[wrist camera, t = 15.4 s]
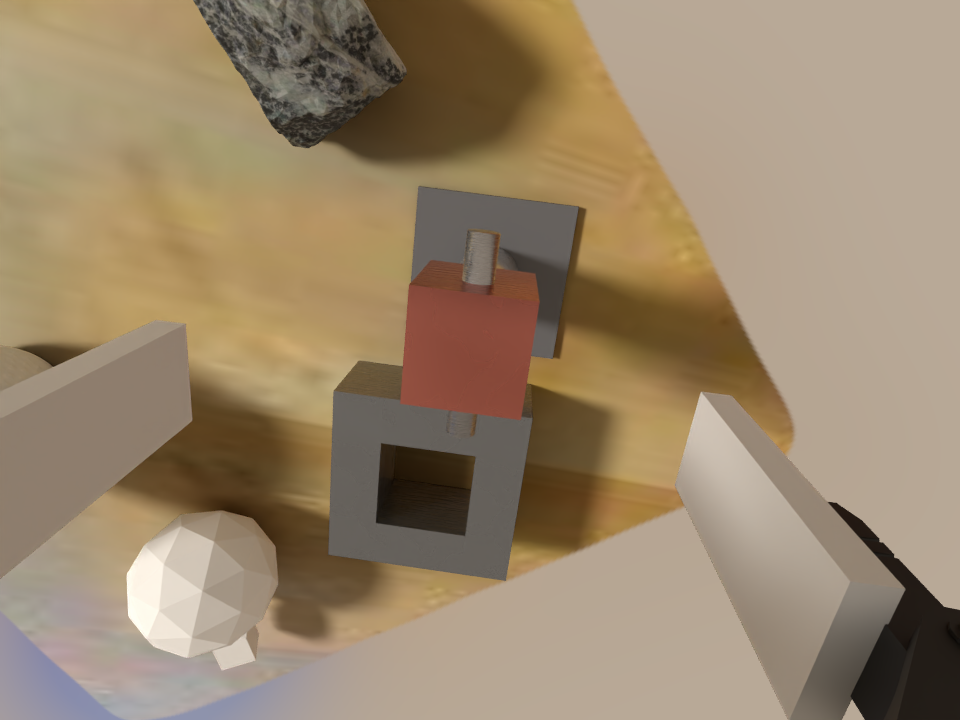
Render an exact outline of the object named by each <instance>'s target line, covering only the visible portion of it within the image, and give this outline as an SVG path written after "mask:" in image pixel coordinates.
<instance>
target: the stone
mask: <svg viewBox="0 0 960 720" xmlns="http://www.w3.org/2000/svg"><path fill="white" fill-rule="evenodd" d="M193 1H194V2H195V4H196V5H197V7H198V8H199V10H200V12H201V14H202V16H203V18H204V19H205V21H206V23H207V24H208V26H209V28H210V29H211V31H212V33H213V35H214V36H215V38H216V39H217V40H218V42H219V43H220V44H221V46H222V47H223V48H224V50H225V51H226V53H227V54H228V56H229V58H230V59H231V61H232V63H233V64H234V66H235V68H236V70H237V71H238V72H239V73H240V74H241V75H242V76H243V78H244V79H245V81H246V82H247V84H248V86H249V88H250V90H251V91H252V93H253V95H254V96H255V98H256V99H257V100H258V101H259V103H260V105H261V107H262V109H263V112H264V114H265V115H266V117H267V119H268V120H269V122H270V123H271V125H272V126H273V127H274V128H275V129H276V130H277V132H278V133H279V134H283V135H284V137H285V138H286V139H287V140H288V141H289V142H290V143H291V144H292V145H293V146H297V147H303V148H309V147H311V146H315V145H316V144H318V143H319V142H321V141H322V140H323V139H324V138H325V137H326V136H327V135H328V134H330V133H332V132H334V131H336V130H338V129H339V128H341V126H342V125H344V124H345V123H346V122H347V121H348V120H349V119H351V118H353V117H355V116H356V115H357V114H359V113H360V112H361V111H362V109H363V108H364V107H365V106H367V105H368V104H369V103H370V102H371V101H373V100H374V99H375V98H380V97H381V95H382V94H383V93H384V92H386V91H387V90H389V89H390V88H392V87H395V86H397V85H398V84H399V83H400V82H401V81H402V80H403V78H404V76H405V75H406V73H407V70H406V67H405V66H404V64H403V62H402V60H401V59H400V58H399V56H398V55H397V54H396V52H395V50H394V49H393V47H392V46H391V45H390V44H389V42H388V41H387V40H386V38H385V37H384V35H383V34H382V32H381V30H380V29H379V28H378V26H377V24H376V22H375V20H374V18H373V16H372V14H371V13H370V11H369V9H368V7H367V5H366V3H365V2H364V0H193Z"/></svg>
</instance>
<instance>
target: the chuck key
mask: <svg viewBox="0 0 960 720" xmlns="http://www.w3.org/2000/svg"><path fill="white" fill-rule="evenodd" d="M500 236H501V233H499V232H495V231H490V230H483V229H467V238H466V247H465V256H464V257H463V258H462V260H461V261H460V263H452V262H444V261H436V260H430V262H429V263H428V264H427V265H426V266H425V267H424V268H423V270H422V271H421V272H420V273H419V274H418V275H417V276H416V278H415V279H414V280H413V281H412V282H411V283H410V284H409V293H408V306H407V319H406V333H405V346H404V359H403V373H402V386H401V399H400V404H405V405H413V406H420V407H427V408H435V409H442V410H448V414H447V423H446V432H447V433H448V434H449V435H451V436H453V437H457V438H469V437H472V436H474V435H475V430H476V423H477V415H478V414H479V415H486V416H494V417H501V418H509V419H516V420H521V416H522V410H523V403H524V397H525V391H526V385H527V378H528V372H529V366H530V359H531V353H532V347H533V340H534V334H535V328H536V322H537V315H538V309H539V303H540V301H539V294H538V288H537V281H536V275H535V273H529V272H521V271H518V268H517V265H516V263H515V261H514V259H513V258H512V256H511V255H510V254H509V253H508V252H506V251H505V250H503V249H502V248H500V247H499V244H500Z"/></svg>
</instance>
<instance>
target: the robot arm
mask: <svg viewBox="0 0 960 720" xmlns="http://www.w3.org/2000/svg"><path fill="white" fill-rule="evenodd" d="M190 422H192V407H191V393H190V379H189V365H188V350H187V336H186V324H183V323H175V322H167V321H160V320H155V321H153V322H151V323H148V324H146V325H144V326H142V327H140V328H137V329H135V330H133V331H131V332H129V333H127V334H124V335H122V336H120V337H118V338H116V339H113V340H111V341H109V342H107V343H105V344H103V345H100V346H98V347H96V348H94V349H92V350H90V351H87V352H85V353H83V354H81V355H79V356H76V357H74V358H72V359H70V360H68V361H66V362H63V363H61V364H59V365H57V366H55V367H52V368H50V369H48V370H46V371H44V372H42V373H39V374H37V375H35V376H33V377H31V378H29V379H26V380H24V381H22V382H20V383H18V384H15V385H13V386H11V387H9V388H7V389H5V390H2V391H0V579H1V578H2V577H3V576H4V575H6V574H7V573H8V572H9V571H10V570H12V569H13V568H14V567H15V566H17V565H18V564H19V563H20V562H21V561H23V560H24V559H25V558H26V557H28V556H29V555H30V554H31V553H32V552H34V551H35V550H36V549H37V548H38V547H40V546H41V545H42V544H43V543H45V542H46V541H47V540H48V539H49V538H51V537H52V536H53V535H54V534H55V533H57V532H58V531H59V530H60V529H62V528H63V527H64V526H65V525H66V524H68V523H69V522H70V521H71V520H72V519H74V518H75V517H76V516H77V515H79V514H80V513H81V512H82V511H83V510H85V509H86V508H87V507H88V506H89V505H91V504H92V503H93V502H94V501H96V500H97V499H98V498H99V497H100V496H102V495H103V494H104V493H105V492H106V491H108V490H109V489H110V488H111V487H113V486H114V485H115V484H116V483H117V482H119V481H120V480H121V479H122V478H123V477H125V476H126V475H127V474H128V473H130V472H131V471H132V470H133V469H134V468H136V467H137V466H138V465H139V464H140V463H142V462H143V461H144V460H145V459H147V458H148V457H149V456H150V455H151V454H153V453H154V452H155V451H156V450H157V449H159V448H160V447H161V446H162V445H164V444H165V443H166V442H167V441H168V440H170V439H171V438H172V437H173V436H175V435H176V434H177V433H178V432H179V431H181V430H182V429H183V428H184V427H185V426H187V425H188V424H189V423H190ZM675 487H676V489H677V491H678V493H679V495H680V497H681V499H682V501H683V503H684V505H685V508H686V510H687V512H688V514H689V516H690V518H691V520H692V522H693V524H694V526H695V528H696V530H697V532H698V534H699V536H700V538H701V541H702V542H703V545H704V547H705V549H706V551H707V553H708V555H709V557H710V559H711V561H712V563H713V565H714V567H715V569H716V572H717V574H718V575H719V578H720V580H721V582H722V584H723V586H724V588H725V590H726V592H727V594H728V596H729V599H730V601H731V603H732V605H733V607H734V609H735V611H736V613H737V615H738V617H739V619H740V621H741V623H742V625H743V628H744V629H745V632H746V634H747V636H748V638H749V640H750V642H751V644H752V646H753V648H754V650H755V652H756V654H757V656H758V659H759V661H760V663H761V665H762V666H763V669H764V671H765V673H766V675H767V677H768V679H769V681H770V683H771V685H772V688H773V689H774V692H775V694H776V696H777V698H778V700H779V702H780V704H781V706H782V708H783V710H784V712H785V714H786V716H787V719H788V720H842V718H843V716H844V714H845V712H846V710H847V708H848V706H849V704H850V702H851V700H853V701H854V703H855V704H856V706H857V708H858V709H859V711H860V713H861V714H862V716H863V717H864V719H865V720H960V610H957V609H952V608H947V607H944V606H943V605H942V604H941V603H940V602H939V601H938V600H937V599H936V598H935V597H934V596H933V595H932V594H931V593H930V592H929V591H928V590H927V588H925V586H924V585H923V584H922V583H921V582H920V581H919V580H918V579H917V578H916V577H915V576H914V575H913V574H912V573H911V572H910V571H909V570H908V569H907V567H906V566H905V565H904V564H903V563H902V562H901V561H900V560H899V559H897V558H894V554H893V553H892V552H891V551H890V550H889V548H888V547H887V546H886V545H885V544H884V543H881V542H879V538H878V537H877V536H876V535H875V534H874V533H873V532H872V531H871V529H870V528H869V527H868V526H867V525H866V524H865V523H864V522H863V521H862V520H860V519H859V518H858V517H856V516H855V515H853V514H852V513H850V512H849V511H847V510H846V509H844V508H843V507H841V506H840V505H838V504H837V503H833V502H827V501H826V500H825V499H824V498H823V497H822V496H821V495H820V493H819V492H818V491H817V490H816V489H815V488H814V487H813V486H812V484H811V483H810V482H809V481H808V480H807V479H806V478H805V477H804V476H803V474H802V473H801V472H800V471H799V470H798V469H797V468H796V467H795V466H794V464H793V463H792V462H791V461H790V460H789V459H788V458H787V457H786V456H785V454H784V453H783V452H782V451H781V450H780V449H779V448H778V447H777V446H776V444H775V443H774V442H773V441H772V440H771V439H770V438H769V437H768V436H767V434H766V433H765V432H764V431H763V430H762V429H761V428H760V427H759V426H758V424H757V423H756V422H755V421H754V420H753V419H752V418H751V417H750V416H749V414H748V413H747V412H746V411H745V410H744V409H743V408H742V407H741V406H740V404H739V403H738V402H737V401H736V400H735V399H734V398H733V397H732V396H731V395H723V394H715V393H708V392H701V394H700V397H699V401H698V404H697V408H696V411H695V415H694V418H693V422H692V426H691V429H690V433H689V436H688V440H687V443H686V447H685V451H684V454H683V458H682V461H681V465H680V468H679V472H678V476H677V479H676V483H675Z"/></svg>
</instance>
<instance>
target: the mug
mask: <svg viewBox="0 0 960 720" xmlns="http://www.w3.org/2000/svg"><path fill="white" fill-rule="evenodd" d="M52 367H53V366H51V365H50V364H49V363H48V362H46V361H45V360H43V359H42V358H40V357H38V356H36V355H34V354H32V353H30V352H27V351H24V350H21V349H17V348H13V347H9V346H3V345H0V391H2V390H5V389H7V388H9V387H11V386H13V385H15V384H18V383H20V382H22V381H24V380H26V379H29V378H31V377H33V376H35V375H37V374H39V373H42V372H44V371H46V370H48V369H50V368H52Z"/></svg>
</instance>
